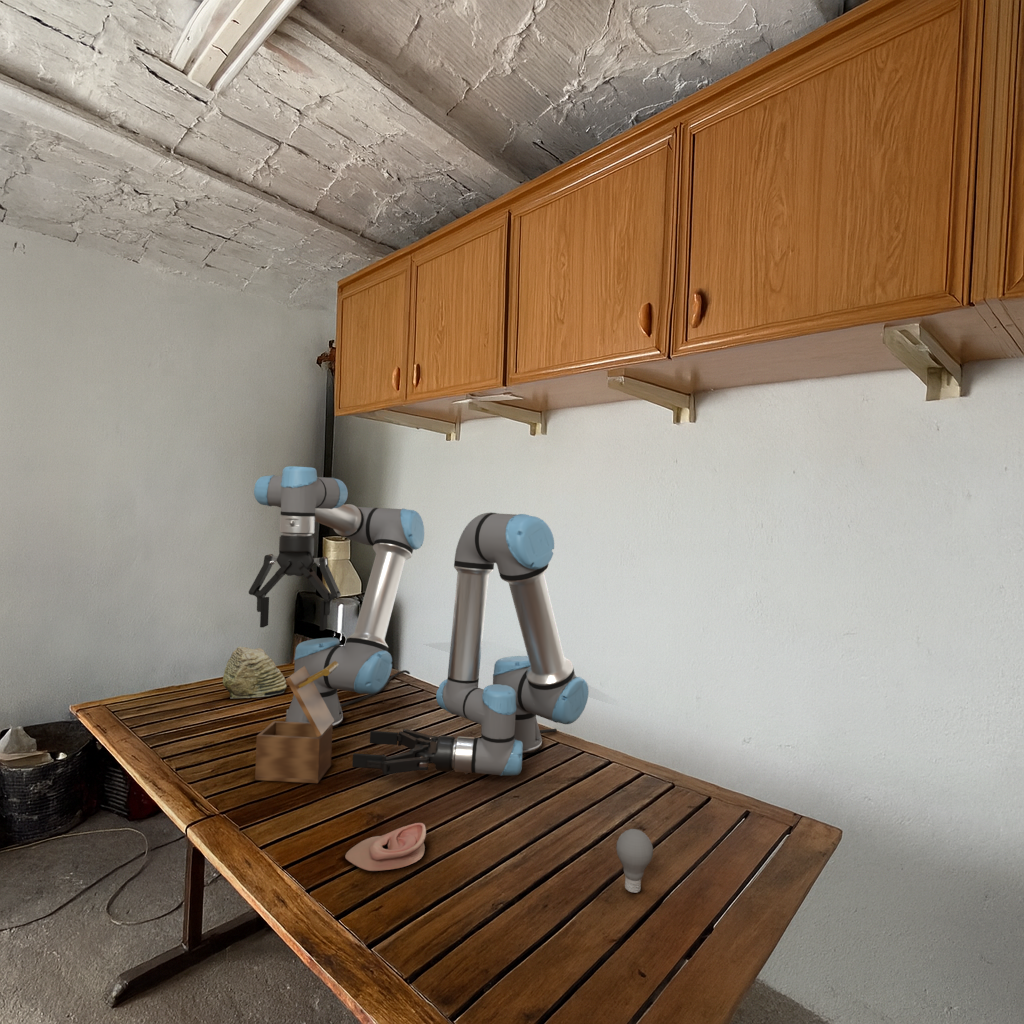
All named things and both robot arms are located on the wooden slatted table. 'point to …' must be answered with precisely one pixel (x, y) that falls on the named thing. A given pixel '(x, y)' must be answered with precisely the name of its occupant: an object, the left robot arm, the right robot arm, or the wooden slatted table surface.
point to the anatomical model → (390, 849)
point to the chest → (292, 753)
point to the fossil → (252, 674)
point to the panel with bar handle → (312, 697)
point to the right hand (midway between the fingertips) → (361, 748)
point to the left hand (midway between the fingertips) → (293, 627)
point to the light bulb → (634, 857)
